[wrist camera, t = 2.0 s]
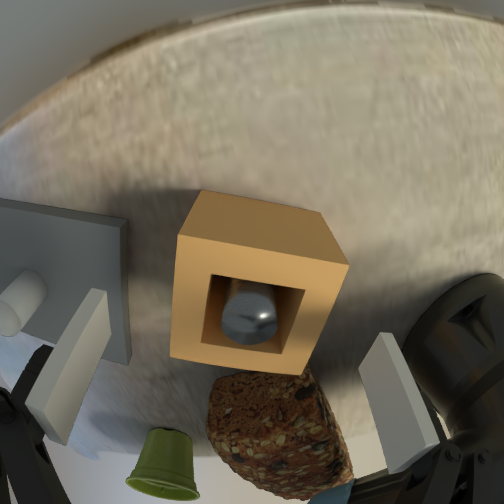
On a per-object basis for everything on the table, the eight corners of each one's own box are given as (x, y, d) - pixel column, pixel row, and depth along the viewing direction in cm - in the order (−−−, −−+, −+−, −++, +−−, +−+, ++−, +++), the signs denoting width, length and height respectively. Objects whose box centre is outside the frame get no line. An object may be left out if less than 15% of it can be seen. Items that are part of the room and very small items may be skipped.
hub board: (127, 219, 20) (78, 276, 14) (132, 354, 27) (109, 417, 20) (-29, 193, 19) (-82, 227, 12) (-3, 310, 25) (-37, 353, 18)
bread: (345, 429, 34) (358, 493, 25) (270, 447, 36) (273, 509, 27) (311, 346, 26) (329, 443, 17) (205, 375, 28) (194, 465, 19)
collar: (320, 212, 20) (349, 265, 14) (289, 307, 24) (300, 375, 18) (201, 189, 19) (178, 234, 13) (188, 290, 23) (169, 356, 17)
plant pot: (219, 442, 35) (215, 498, 27) (177, 455, 38) (170, 503, 30) (163, 414, 32) (151, 475, 24) (126, 429, 35) (112, 480, 27)
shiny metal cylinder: (274, 240, 21) (284, 307, 14) (265, 274, 22) (270, 348, 16) (233, 232, 21) (225, 298, 14) (227, 267, 22) (217, 340, 15)
